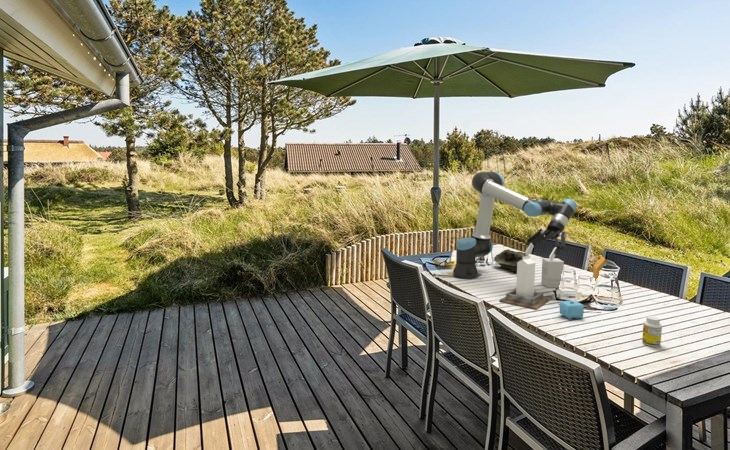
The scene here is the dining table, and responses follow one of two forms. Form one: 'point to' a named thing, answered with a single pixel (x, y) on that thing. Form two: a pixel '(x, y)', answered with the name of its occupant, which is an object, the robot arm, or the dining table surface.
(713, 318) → the dining table surface
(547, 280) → the supplement box
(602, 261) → the orange juice
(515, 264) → the hollow geode rock
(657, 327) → the supplement bottle
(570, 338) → the dining table surface
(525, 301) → the holder
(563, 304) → the light blue block
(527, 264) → the milk
